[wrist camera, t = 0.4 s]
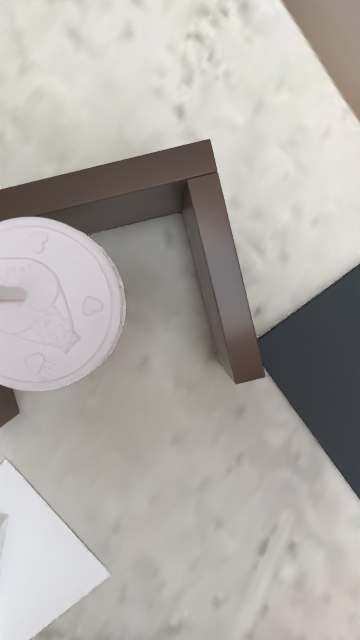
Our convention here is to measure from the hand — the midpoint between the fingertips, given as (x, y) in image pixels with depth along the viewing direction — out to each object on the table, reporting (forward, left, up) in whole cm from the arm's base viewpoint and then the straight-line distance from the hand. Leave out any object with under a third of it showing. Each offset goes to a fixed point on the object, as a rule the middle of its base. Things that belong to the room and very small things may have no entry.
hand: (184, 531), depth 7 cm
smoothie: (+5, +5, -14) cm, 16 cm away
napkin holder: (-14, +14, -14) cm, 24 cm away
